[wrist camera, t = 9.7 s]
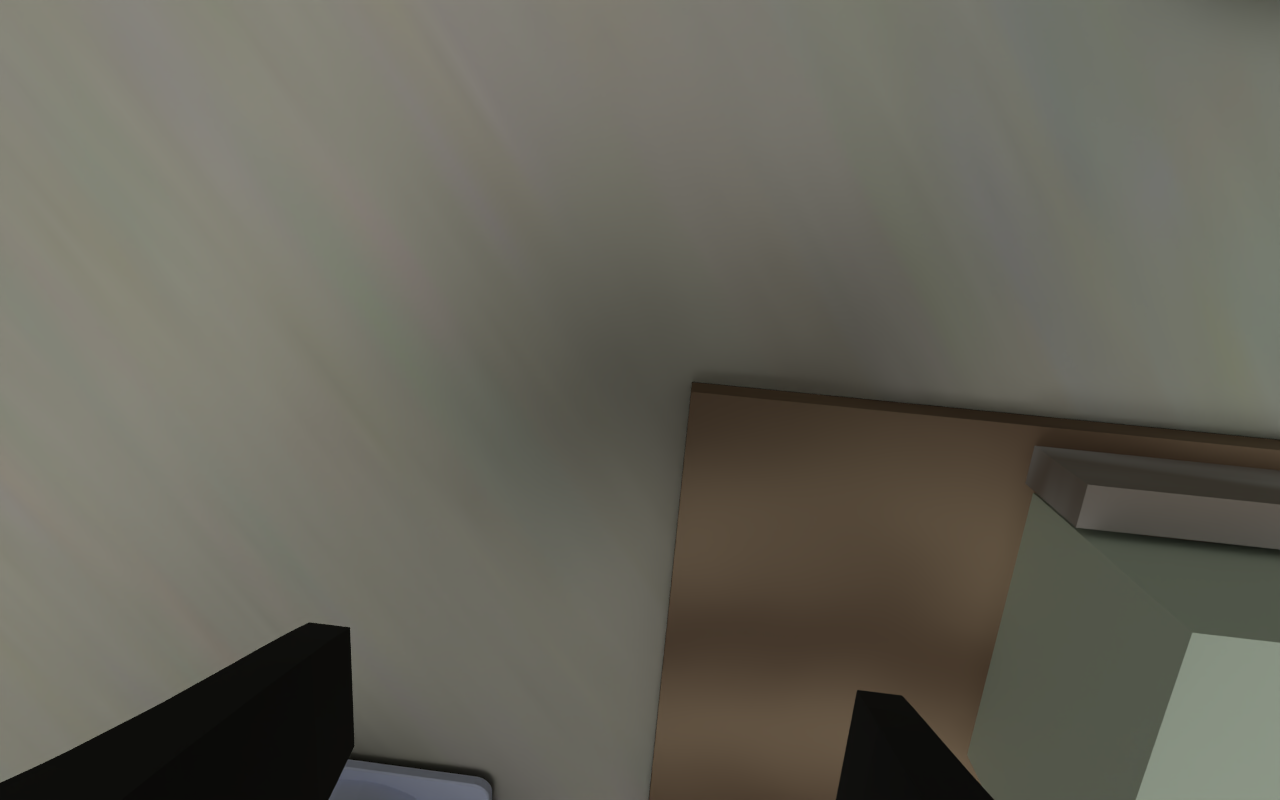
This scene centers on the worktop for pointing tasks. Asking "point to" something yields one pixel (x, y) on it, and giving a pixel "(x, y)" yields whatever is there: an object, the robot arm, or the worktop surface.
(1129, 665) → the cabinet block
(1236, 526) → the cleat board
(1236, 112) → the worktop surface
